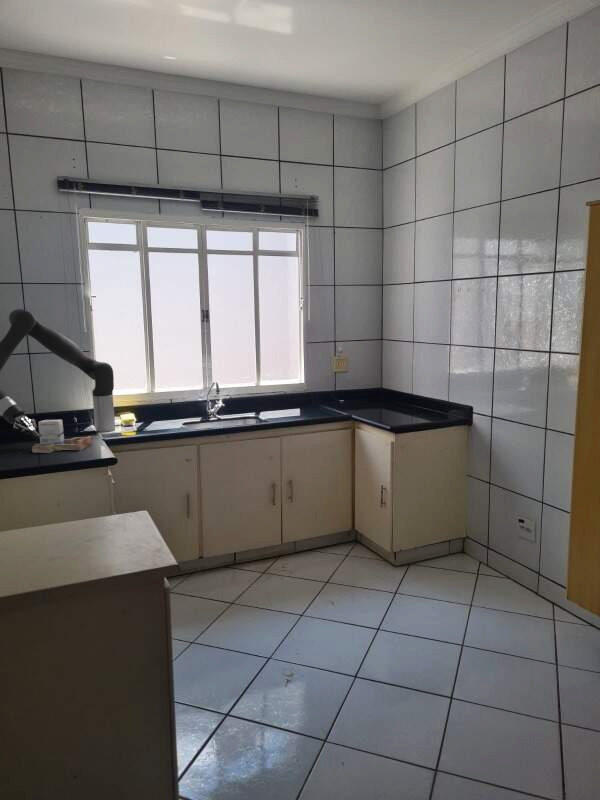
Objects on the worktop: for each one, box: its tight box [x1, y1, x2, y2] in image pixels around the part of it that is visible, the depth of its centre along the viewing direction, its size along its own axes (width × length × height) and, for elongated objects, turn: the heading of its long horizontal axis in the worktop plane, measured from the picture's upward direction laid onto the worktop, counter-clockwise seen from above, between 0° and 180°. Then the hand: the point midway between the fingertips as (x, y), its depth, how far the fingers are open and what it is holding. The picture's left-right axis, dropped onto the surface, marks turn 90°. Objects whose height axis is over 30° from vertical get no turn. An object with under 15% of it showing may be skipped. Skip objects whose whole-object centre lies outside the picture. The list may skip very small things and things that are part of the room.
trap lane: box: [31, 435, 93, 454], centre depth 241 cm, size 19×20×4 cm
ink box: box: [37, 419, 65, 446], centre depth 241 cm, size 9×5×12 cm, turn 92°
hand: (38, 438), depth 243 cm, fingers closed
